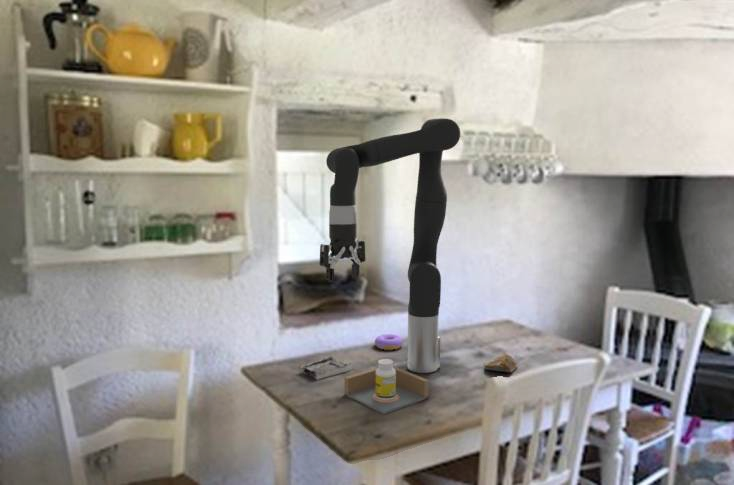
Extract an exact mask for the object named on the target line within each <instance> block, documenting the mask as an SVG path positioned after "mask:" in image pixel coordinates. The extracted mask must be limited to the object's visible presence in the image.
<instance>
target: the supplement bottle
mask: <svg viewBox="0 0 734 485" xmlns="http://www.w3.org/2000/svg"><path fill="white" fill-rule="evenodd" d="M393 366H394V361H393V360H392V359H388V358H382V359H379V360H377V367H379V368H378V369H377V370H376V397H377V398H378V399H380V400H392V399H394V398H395V397H396V371H395V369H394V368H393Z"/></svg>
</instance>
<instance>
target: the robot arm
mask: <svg viewBox="0 0 734 485" xmlns="http://www.w3.org/2000/svg"><path fill="white" fill-rule="evenodd" d="M460 139H461V129H460V126H459V124H458V123H457V122H456V121H455V120H453V119H450V118H447V117H440V118H438V117H437V118H430V119H428V120H426V121H425V122H424V123H423V124H422V125H421V128H420V129H418V130H414V131H411V132H406V133H399V134H393V135H388V136H387V135H386V136H383V137H378V138H375V139H370V140H368V141H367V140H366V141H364V142H362V143H358V144H354V145H347V146H343V147H338V148H334V149H333V150H331V151H330V152H329V153H328V154H327V156H326V160H325V161H326V162H325V163H326V167H327V168H328V170H329V171H330V172H332V173H333V174H334V182H333V184H332V185H331V186H330V189H329V212H328V214H329V218H328V220H329V221H328V226H329V228H328V230H329V231H328V233H329V234H328V236H329V241H330V243H329V244H324V243H323V244H320V245H319V266H320V267H323V268H325V274H326V275H325V279H326V280H327V282H329V283H334V282H335V269H334V268H335V265H336V264H337V263H338V262H339V261H340V260H343V259H349V260H350V262H351V263H352V264H351V277H352V278H353V279H357V278H359V276H360V265H361V263H364V262H366V243H365V241H364V240H356V238H357V235H358V234H357V230H358V229H357V228H358V227H357V218H358V217H357V207H356V204H357V202H356V201H357V199H356V195H357V194H356V188H357V185H358V179H359V173H360V168H368V167H369V168H370V167H374V166H375V167H376V166H378V165H382V164H386V163H390V162H392V161H396V160H398V159H403V158H406V157H408V156H413V155H417V154H419V155H418V156H419V157H418V158H419V160H418V162H419V164H418V173H417V188H416V195H415V202H414V215H413V216H414V217H413V245H412V250H411V255H410V260H409V265H408V269H407V278H408V281H409V282H408V283H409V299H408V300H409V301H408V306H407V312H408V313H407V369H408V370H409V371H411V372H413V373H417V374H418V373H419V374H429V373H433V372H436V371H437V370H438V369H439V368H440V367H441V337H440V336H439V320H440V319H439V315H440V314H439V313H440V312H439V311H440V306H441V292H442V290H441V289H442V277H441V272H440V270H439V268H438V267H437V253H438V252H437V250H438V244H439V239H440V236H441V233H442V230H443V227H444V224H445V218H446V211H447V205H448V204H447V203H448V193H447V187H446V185H445V181H444V180H445V179H444V176H443V172H442V162H443V160H442V159H443V151H448V150H451V149H453V148H454V147H456V145H457V144H458V143H459V140H460ZM355 249H356V251H355Z"/></svg>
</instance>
